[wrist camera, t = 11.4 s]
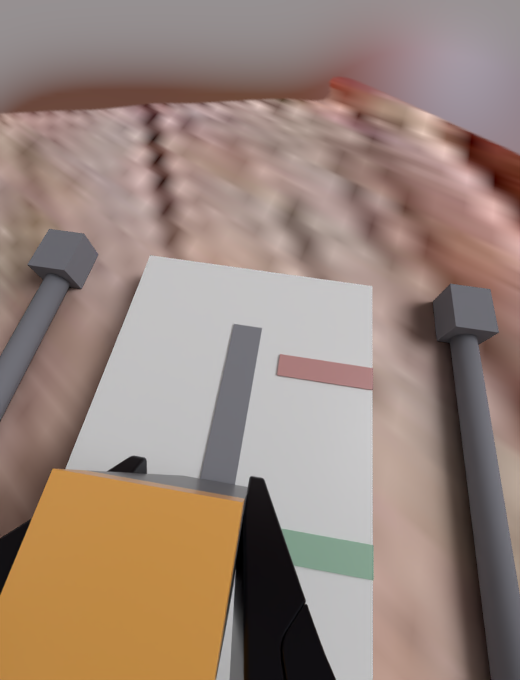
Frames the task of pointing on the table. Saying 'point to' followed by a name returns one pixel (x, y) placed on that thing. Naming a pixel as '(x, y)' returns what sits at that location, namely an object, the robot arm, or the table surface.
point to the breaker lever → (122, 579)
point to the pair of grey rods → (476, 430)
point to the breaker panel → (256, 419)
